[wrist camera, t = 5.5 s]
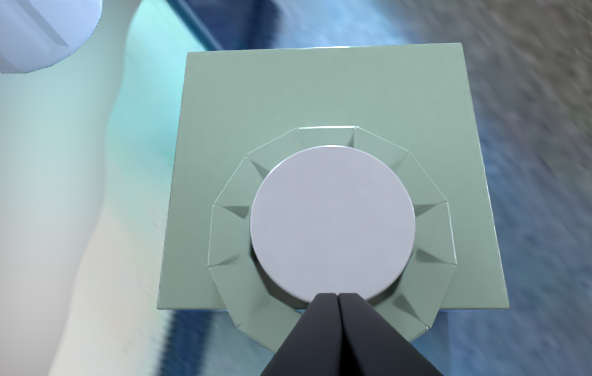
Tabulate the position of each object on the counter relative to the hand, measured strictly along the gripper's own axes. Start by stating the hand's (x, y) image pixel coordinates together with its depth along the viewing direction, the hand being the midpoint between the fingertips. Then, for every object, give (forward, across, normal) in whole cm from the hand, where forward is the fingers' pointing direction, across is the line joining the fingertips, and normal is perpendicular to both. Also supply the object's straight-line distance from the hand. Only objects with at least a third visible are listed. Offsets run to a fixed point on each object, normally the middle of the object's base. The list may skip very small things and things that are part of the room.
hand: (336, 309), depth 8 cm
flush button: (+3, 0, 0) cm, 3 cm away
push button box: (+10, 0, -3) cm, 11 cm away
